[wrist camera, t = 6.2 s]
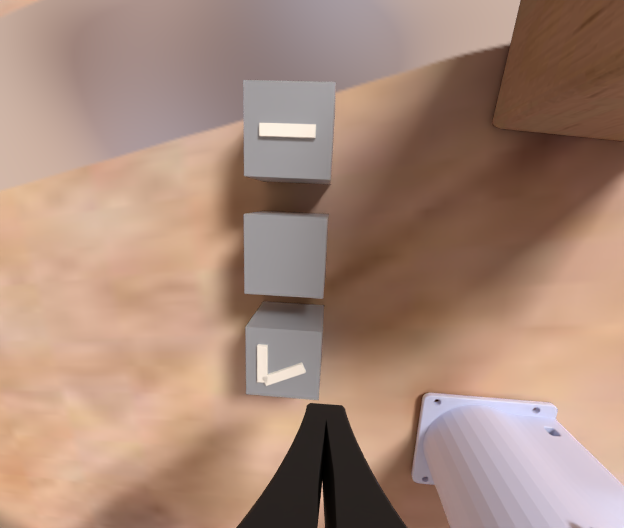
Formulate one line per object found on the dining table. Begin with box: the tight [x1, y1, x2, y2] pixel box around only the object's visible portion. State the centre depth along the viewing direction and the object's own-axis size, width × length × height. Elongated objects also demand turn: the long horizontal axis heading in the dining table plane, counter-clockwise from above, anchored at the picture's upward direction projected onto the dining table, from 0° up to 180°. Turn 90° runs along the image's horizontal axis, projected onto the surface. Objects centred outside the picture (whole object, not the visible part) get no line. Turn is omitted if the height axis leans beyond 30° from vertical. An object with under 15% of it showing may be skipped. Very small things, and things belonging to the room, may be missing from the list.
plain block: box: [244, 211, 329, 299], centre depth 18 cm, size 4×4×4 cm
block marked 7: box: [245, 301, 324, 400], centre depth 19 cm, size 4×4×5 cm
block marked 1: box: [243, 80, 336, 184], centre depth 16 cm, size 4×4×5 cm
